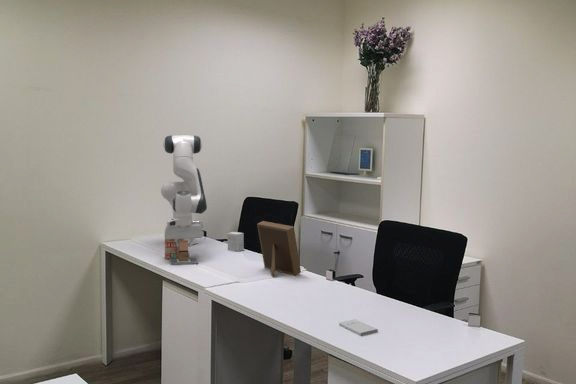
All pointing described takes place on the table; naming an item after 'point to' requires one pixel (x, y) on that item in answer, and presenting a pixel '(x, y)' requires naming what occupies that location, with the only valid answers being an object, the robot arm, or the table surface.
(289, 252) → the photo frame
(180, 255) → the walnut block
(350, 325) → the external hard drive
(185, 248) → the terracotta block
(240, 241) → the small box
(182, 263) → the grey flat square plate
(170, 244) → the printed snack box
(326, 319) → the table surface
